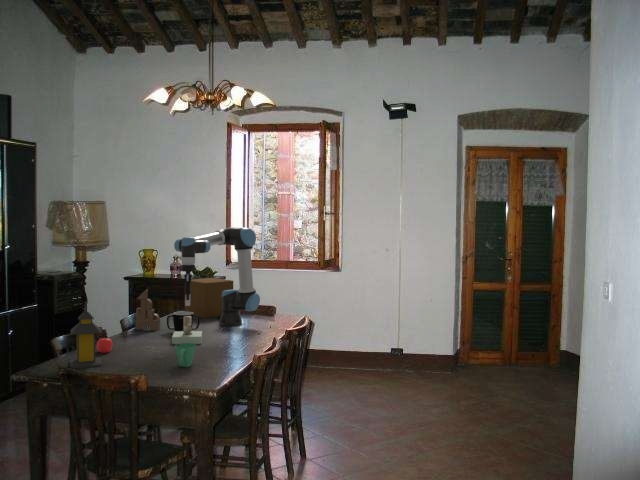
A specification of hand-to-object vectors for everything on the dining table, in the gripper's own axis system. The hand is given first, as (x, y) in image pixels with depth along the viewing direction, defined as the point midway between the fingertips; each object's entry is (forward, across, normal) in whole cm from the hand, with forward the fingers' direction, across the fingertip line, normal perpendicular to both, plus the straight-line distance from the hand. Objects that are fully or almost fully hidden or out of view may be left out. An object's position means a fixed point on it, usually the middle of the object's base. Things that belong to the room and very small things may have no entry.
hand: (187, 305), depth 344 cm
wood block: (+21, -90, +10) cm, 93 cm away
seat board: (+20, 0, 0) cm, 20 cm away
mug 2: (+21, +59, +2) cm, 63 cm away
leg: (+20, 0, 0) cm, 20 cm away
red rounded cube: (+21, +24, -41) cm, 52 cm away
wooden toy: (+21, -37, -27) cm, 50 cm away
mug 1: (+21, -25, -4) cm, 33 cm away
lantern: (+21, +49, -45) cm, 70 cm away
